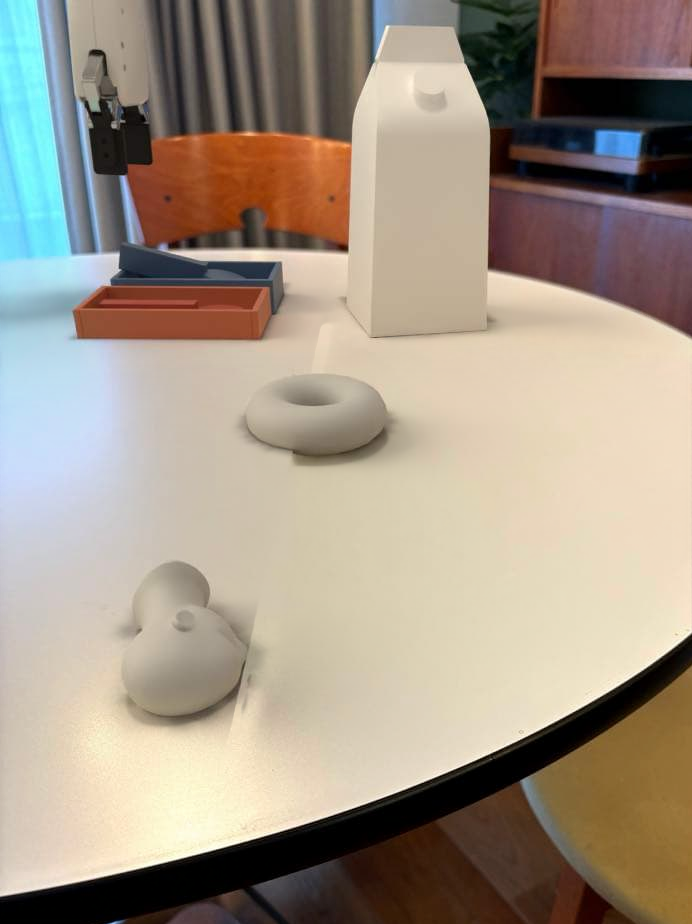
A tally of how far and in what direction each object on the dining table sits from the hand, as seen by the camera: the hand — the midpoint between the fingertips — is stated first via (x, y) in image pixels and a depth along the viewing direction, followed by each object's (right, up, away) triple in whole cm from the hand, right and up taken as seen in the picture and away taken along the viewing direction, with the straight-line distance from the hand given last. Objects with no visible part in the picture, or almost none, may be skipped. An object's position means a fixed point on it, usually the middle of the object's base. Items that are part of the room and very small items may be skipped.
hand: (125, 169), depth 85 cm
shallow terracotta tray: (+7, -18, -5) cm, 19 cm away
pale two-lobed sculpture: (+19, -44, -48) cm, 68 cm away
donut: (+22, -31, -25) cm, 46 cm away
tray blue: (+7, -12, +6) cm, 15 cm away
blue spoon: (+5, -10, +5) cm, 12 cm away
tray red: (+7, -18, -4) cm, 20 cm away
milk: (+30, -15, +2) cm, 33 cm away
